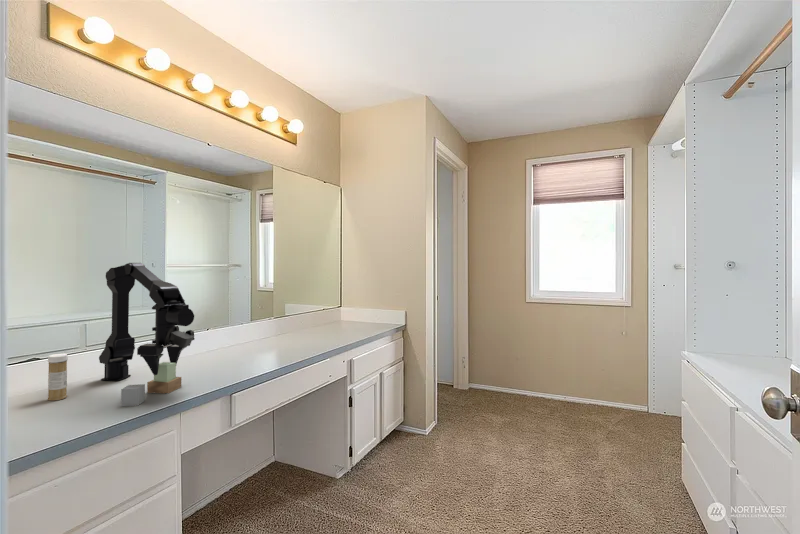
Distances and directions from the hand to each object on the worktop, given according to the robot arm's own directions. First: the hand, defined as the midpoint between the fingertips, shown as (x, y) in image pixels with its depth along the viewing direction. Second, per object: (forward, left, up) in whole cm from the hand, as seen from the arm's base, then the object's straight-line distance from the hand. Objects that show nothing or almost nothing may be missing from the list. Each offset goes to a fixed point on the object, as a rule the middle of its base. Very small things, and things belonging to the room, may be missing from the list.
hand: (164, 371), depth 134 cm
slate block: (-1, -13, -6) cm, 14 cm away
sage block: (0, 0, -3) cm, 3 cm away
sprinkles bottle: (-26, -12, -6) cm, 29 cm away
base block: (0, 0, -6) cm, 6 cm away
